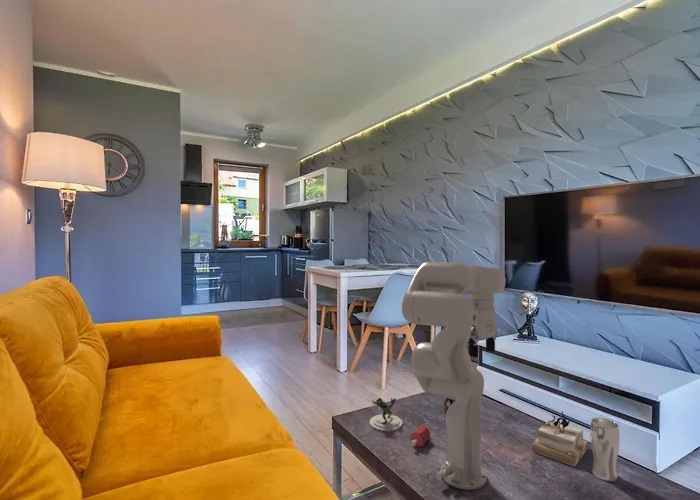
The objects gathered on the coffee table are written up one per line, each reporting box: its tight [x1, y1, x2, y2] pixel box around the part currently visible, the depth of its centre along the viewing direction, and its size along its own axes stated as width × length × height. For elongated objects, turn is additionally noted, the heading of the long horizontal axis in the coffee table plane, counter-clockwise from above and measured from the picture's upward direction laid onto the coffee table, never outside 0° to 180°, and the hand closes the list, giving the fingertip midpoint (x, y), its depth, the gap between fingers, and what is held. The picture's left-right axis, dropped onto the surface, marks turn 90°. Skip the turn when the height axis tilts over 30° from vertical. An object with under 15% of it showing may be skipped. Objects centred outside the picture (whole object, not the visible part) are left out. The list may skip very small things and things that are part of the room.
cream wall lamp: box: [531, 419, 589, 468], centre depth 122 cm, size 14×12×7 cm
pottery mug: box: [443, 398, 455, 415], centre depth 149 cm, size 12×10×8 cm
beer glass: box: [589, 417, 621, 482], centre depth 109 cm, size 7×7×15 cm
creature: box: [542, 411, 573, 435], centre depth 122 cm, size 8×5×8 cm
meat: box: [410, 425, 431, 448], centre depth 128 cm, size 12×5×5 cm, turn 145°
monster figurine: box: [369, 397, 403, 433], centre depth 141 cm, size 12×12×10 cm
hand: (482, 353), depth 131 cm, fingers open, 9 cm apart
